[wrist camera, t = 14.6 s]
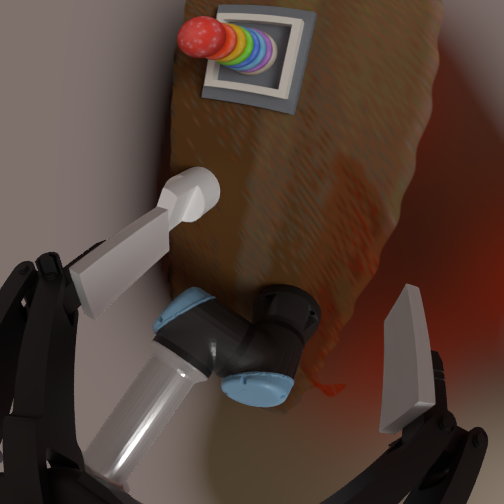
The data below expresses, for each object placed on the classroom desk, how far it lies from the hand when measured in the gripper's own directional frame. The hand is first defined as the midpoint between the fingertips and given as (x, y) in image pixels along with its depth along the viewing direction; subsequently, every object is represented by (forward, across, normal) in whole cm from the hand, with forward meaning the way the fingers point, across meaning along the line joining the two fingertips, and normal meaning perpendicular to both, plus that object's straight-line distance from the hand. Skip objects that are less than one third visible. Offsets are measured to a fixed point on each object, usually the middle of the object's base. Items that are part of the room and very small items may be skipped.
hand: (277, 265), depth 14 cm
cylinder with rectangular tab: (+33, +23, +12) cm, 42 cm away
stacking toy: (+31, +14, -14) cm, 37 cm away
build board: (+32, +14, -14) cm, 38 cm away
